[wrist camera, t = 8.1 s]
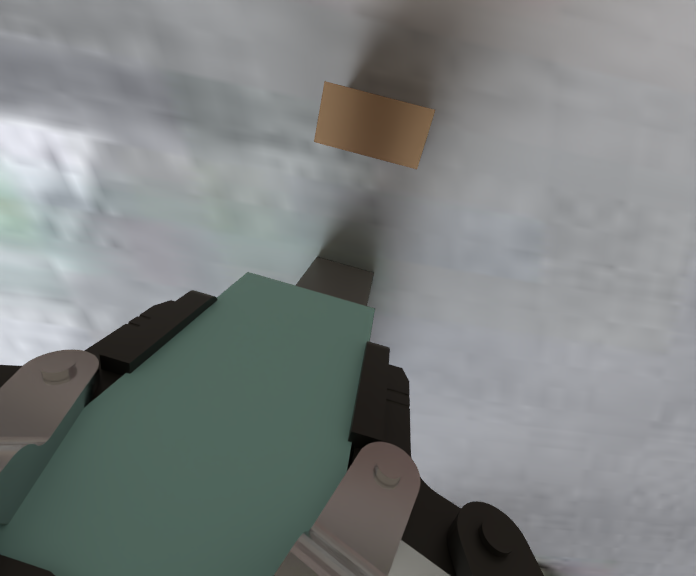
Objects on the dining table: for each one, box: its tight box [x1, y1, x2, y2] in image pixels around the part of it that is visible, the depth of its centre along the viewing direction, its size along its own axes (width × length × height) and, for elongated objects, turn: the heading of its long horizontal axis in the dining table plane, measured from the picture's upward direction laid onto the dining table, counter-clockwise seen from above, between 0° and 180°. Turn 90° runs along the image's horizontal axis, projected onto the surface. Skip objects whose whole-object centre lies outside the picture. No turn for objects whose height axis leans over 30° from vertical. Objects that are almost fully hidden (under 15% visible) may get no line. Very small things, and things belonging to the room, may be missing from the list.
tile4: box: [296, 257, 374, 306], centre depth 24 cm, size 5×2×10 cm, turn 76°
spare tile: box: [0, 272, 375, 576], centre depth 8 cm, size 5×2×10 cm, turn 76°
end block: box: [314, 82, 435, 169], centre depth 21 cm, size 6×3×6 cm, turn 76°
